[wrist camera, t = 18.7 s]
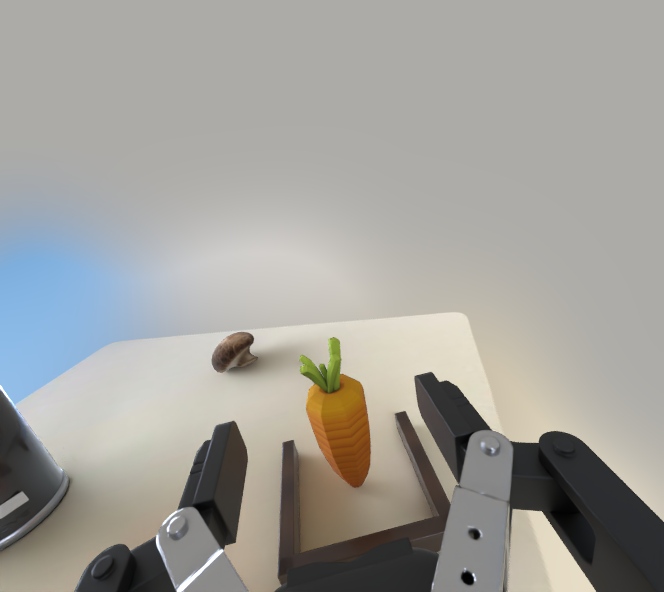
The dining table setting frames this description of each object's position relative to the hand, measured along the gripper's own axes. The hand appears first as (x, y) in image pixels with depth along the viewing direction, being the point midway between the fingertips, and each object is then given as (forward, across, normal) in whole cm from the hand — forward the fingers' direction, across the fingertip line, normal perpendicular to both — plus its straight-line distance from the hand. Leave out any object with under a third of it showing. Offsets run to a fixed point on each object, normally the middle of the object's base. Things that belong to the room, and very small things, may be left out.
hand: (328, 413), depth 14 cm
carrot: (+10, 0, +18) cm, 20 cm away
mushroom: (+37, +15, +18) cm, 44 cm away
